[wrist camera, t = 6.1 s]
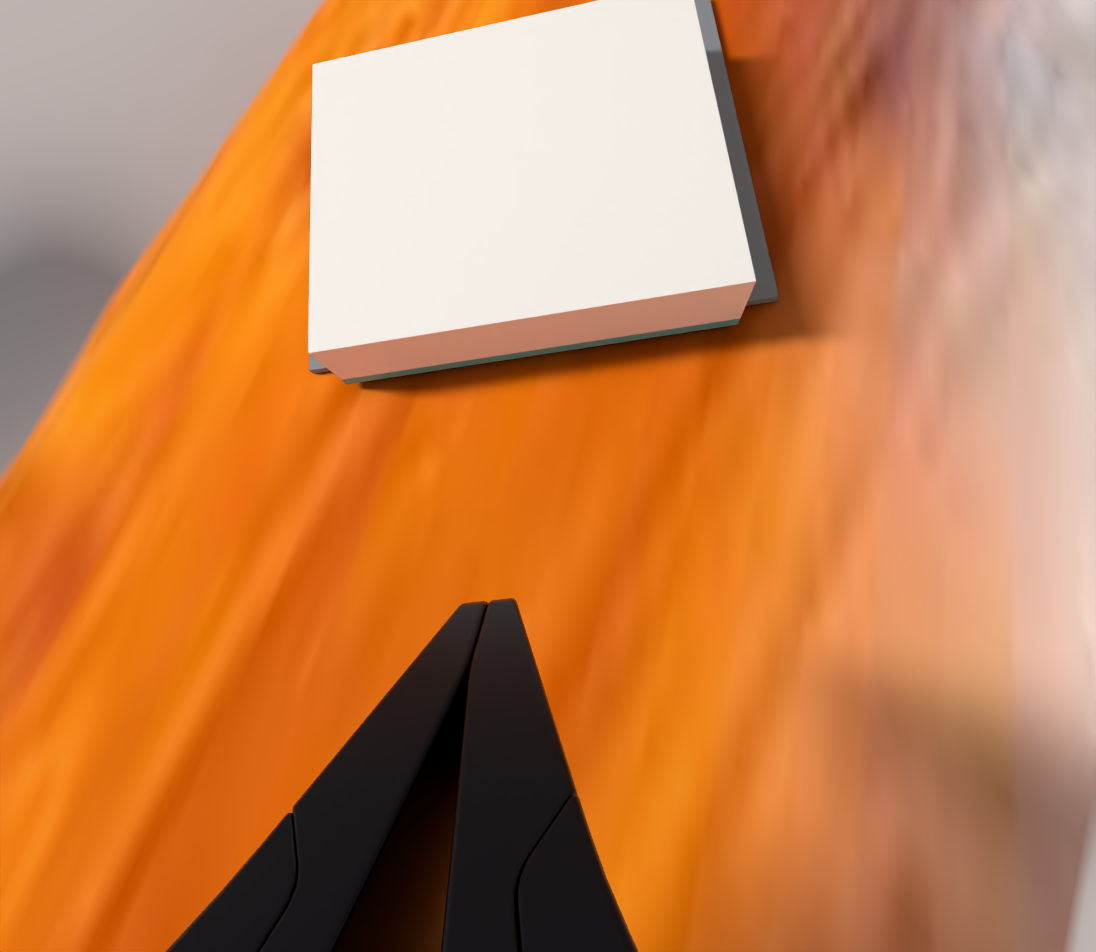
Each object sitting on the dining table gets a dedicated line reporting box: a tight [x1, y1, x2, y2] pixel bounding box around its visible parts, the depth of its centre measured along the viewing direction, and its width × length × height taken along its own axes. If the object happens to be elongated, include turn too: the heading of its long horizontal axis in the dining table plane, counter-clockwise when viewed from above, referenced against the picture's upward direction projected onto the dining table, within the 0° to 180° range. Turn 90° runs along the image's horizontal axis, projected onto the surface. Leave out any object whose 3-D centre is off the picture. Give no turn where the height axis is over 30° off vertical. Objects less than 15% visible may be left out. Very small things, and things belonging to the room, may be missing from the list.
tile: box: [308, 0, 756, 384], centre depth 19 cm, size 2×14×12 cm
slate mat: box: [309, 0, 779, 374], centre depth 21 cm, size 14×17×1 cm
